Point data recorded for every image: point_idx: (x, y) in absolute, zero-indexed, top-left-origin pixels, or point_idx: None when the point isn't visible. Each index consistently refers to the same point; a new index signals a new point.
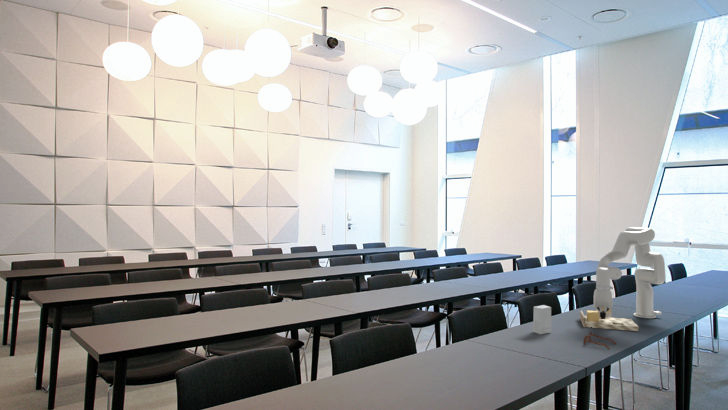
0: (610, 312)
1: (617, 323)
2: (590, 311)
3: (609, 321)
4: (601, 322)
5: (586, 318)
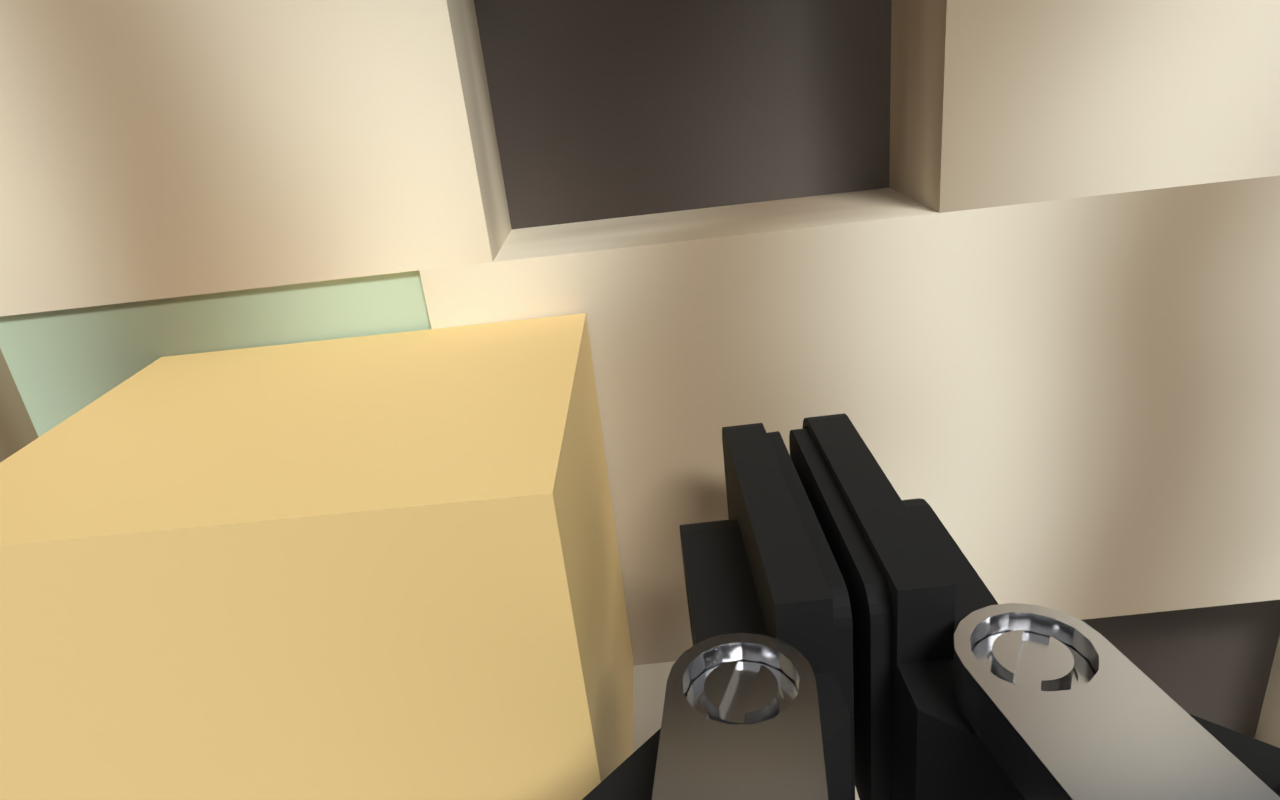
0: None
1: (1215, 588)
2: (161, 783)
3: (996, 527)
4: None
5: (146, 362)
